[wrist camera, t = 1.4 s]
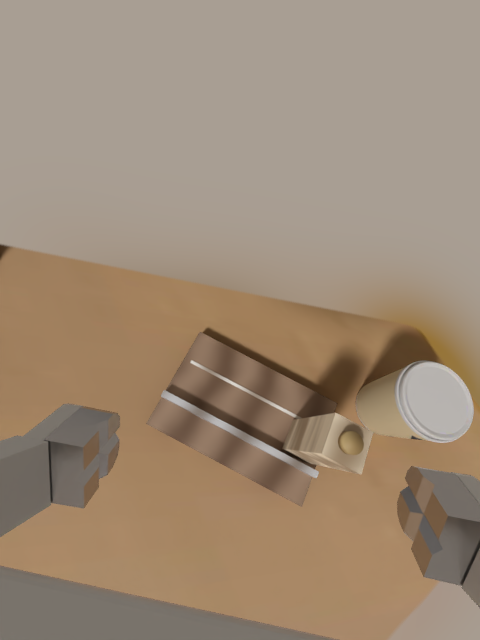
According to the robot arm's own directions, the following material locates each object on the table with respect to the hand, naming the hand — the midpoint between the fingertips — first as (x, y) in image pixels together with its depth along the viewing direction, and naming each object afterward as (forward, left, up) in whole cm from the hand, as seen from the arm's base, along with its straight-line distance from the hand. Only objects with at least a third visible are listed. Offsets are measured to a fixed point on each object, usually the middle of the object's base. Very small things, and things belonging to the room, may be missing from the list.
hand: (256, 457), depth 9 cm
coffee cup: (+21, +16, -35) cm, 44 cm away
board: (+3, +6, -35) cm, 36 cm away
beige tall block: (+11, +6, -33) cm, 35 cm away
